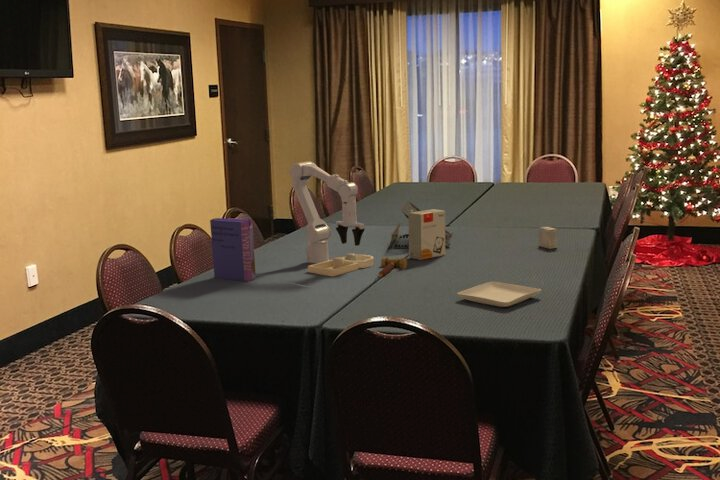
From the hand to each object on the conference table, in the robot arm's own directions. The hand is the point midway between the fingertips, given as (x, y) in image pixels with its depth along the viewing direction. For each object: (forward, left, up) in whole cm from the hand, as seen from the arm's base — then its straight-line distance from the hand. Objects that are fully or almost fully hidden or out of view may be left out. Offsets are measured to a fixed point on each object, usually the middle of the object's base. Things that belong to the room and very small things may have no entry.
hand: (350, 244), depth 327 cm
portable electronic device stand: (-8, +57, -10) cm, 59 cm away
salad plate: (+79, -8, -10) cm, 80 cm away
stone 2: (0, 0, -9) cm, 9 cm away
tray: (+1, -12, -9) cm, 15 cm away
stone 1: (+1, -9, -9) cm, 12 cm away
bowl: (+2, +2, -9) cm, 10 cm away
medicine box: (+48, +78, -10) cm, 92 cm away
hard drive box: (+15, +33, -10) cm, 37 cm away
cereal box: (-24, -42, -10) cm, 50 cm away
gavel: (+20, +1, -10) cm, 22 cm away
